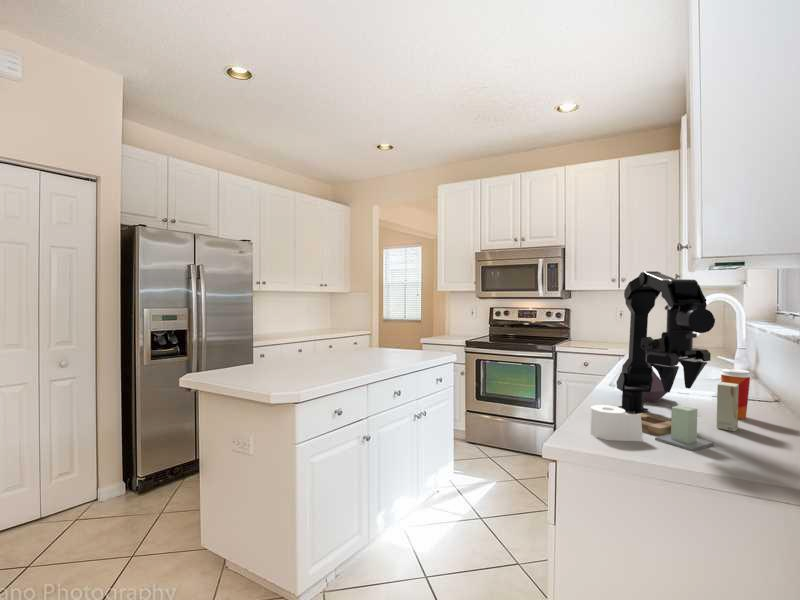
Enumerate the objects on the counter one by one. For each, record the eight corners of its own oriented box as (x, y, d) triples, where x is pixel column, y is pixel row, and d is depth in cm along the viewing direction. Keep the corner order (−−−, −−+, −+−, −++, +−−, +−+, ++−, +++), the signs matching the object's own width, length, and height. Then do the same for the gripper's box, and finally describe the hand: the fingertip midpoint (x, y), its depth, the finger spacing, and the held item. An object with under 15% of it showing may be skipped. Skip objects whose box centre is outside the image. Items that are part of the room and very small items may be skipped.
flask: (660, 407, 147) (661, 346, 147) (609, 397, 159) (610, 341, 159) (677, 399, 158) (678, 342, 158) (628, 391, 170) (629, 338, 170)
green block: (679, 436, 115) (680, 405, 114) (696, 441, 111) (697, 408, 111) (670, 438, 113) (671, 407, 112) (687, 443, 109) (688, 410, 109)
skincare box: (735, 432, 121) (736, 386, 121) (715, 428, 124) (717, 384, 124) (738, 426, 126) (739, 383, 125) (719, 423, 129) (720, 381, 128)
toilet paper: (643, 441, 112) (643, 413, 112) (597, 440, 113) (597, 412, 113) (628, 431, 121) (628, 405, 121) (585, 430, 121) (586, 404, 121)
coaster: (675, 434, 118) (675, 432, 118) (713, 445, 110) (713, 442, 110) (655, 439, 114) (655, 437, 114) (692, 451, 106) (692, 448, 106)
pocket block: (643, 419, 132) (643, 412, 132) (684, 430, 122) (684, 422, 122) (618, 424, 127) (618, 417, 126) (659, 436, 116) (659, 428, 116)
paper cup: (714, 412, 141) (715, 367, 141) (741, 413, 139) (743, 369, 139) (726, 419, 133) (727, 372, 133) (756, 421, 132) (757, 373, 132)
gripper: (668, 324, 125) (667, 380, 126) (626, 327, 116) (625, 387, 117) (712, 328, 115) (710, 388, 116) (670, 331, 106) (668, 397, 107)
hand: (677, 390), depth 114 cm, fingers open, 9 cm apart
